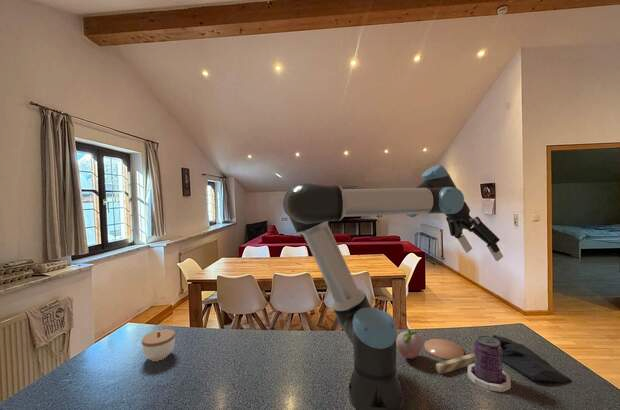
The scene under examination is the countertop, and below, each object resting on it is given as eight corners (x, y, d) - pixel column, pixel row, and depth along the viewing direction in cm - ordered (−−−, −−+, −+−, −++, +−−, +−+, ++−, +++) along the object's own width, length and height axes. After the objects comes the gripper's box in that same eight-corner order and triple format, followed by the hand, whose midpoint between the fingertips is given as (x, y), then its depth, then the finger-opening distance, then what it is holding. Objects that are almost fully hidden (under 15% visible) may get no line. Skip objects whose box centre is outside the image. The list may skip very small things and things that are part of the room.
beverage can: (494, 371, 88) (493, 334, 88) (507, 387, 81) (507, 346, 81) (470, 371, 89) (470, 334, 89) (482, 386, 82) (481, 346, 82)
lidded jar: (174, 361, 99) (173, 335, 99) (139, 368, 95) (138, 341, 95) (176, 346, 109) (175, 322, 109) (145, 352, 105) (144, 328, 105)
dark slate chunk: (527, 387, 82) (527, 371, 82) (479, 346, 104) (479, 334, 104) (577, 384, 82) (577, 369, 82) (519, 345, 104) (519, 332, 104)
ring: (504, 397, 77) (504, 392, 77) (460, 377, 86) (460, 372, 86) (516, 380, 84) (516, 375, 84) (474, 363, 93) (474, 358, 93)
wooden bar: (439, 374, 88) (439, 366, 88) (436, 371, 89) (435, 363, 89) (481, 361, 94) (481, 354, 94) (477, 359, 95) (477, 351, 95)
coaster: (454, 364, 93) (454, 363, 93) (417, 348, 103) (417, 347, 103) (469, 350, 101) (469, 348, 101) (434, 336, 111) (434, 335, 111)
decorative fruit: (400, 348, 103) (400, 321, 103) (424, 355, 99) (423, 327, 98) (392, 361, 96) (392, 332, 95) (417, 368, 91) (417, 338, 91)
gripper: (491, 200, 85) (523, 255, 88) (439, 199, 109) (465, 242, 112) (473, 214, 84) (506, 270, 87) (424, 210, 108) (451, 253, 111)
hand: (483, 254), depth 99 cm, fingers open, 13 cm apart
